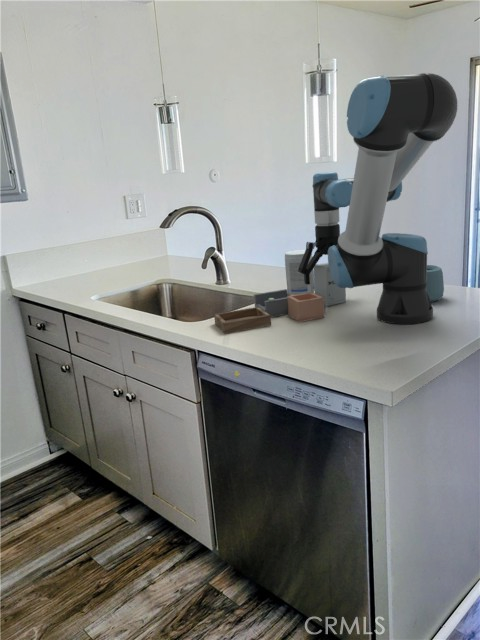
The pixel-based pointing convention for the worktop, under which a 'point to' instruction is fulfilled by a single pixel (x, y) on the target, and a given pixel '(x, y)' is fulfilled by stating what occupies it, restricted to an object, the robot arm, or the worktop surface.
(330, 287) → the supplement box
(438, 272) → the mug
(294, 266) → the supplement tub
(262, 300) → the cradle
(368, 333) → the worktop surface
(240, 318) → the trough
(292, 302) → the square terracotta planter
